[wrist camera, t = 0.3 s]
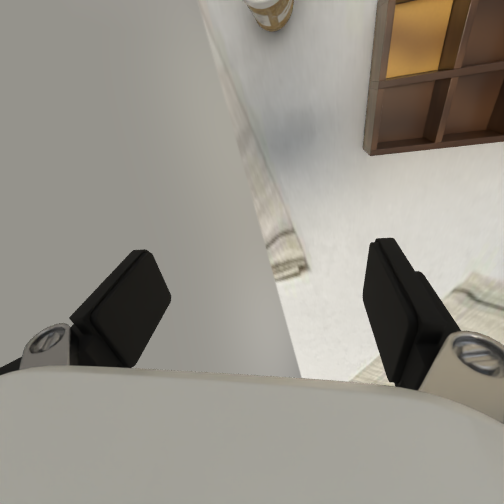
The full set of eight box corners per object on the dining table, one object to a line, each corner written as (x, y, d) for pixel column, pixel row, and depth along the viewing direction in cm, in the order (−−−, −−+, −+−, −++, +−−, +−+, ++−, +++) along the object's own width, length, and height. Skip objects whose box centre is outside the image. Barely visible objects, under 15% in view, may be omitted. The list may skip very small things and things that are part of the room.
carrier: (377, 0, 26) (389, -12, 23) (646, -60, 22) (710, -85, 18) (362, 148, 34) (370, 156, 31) (554, 126, 30) (587, 132, 27)
